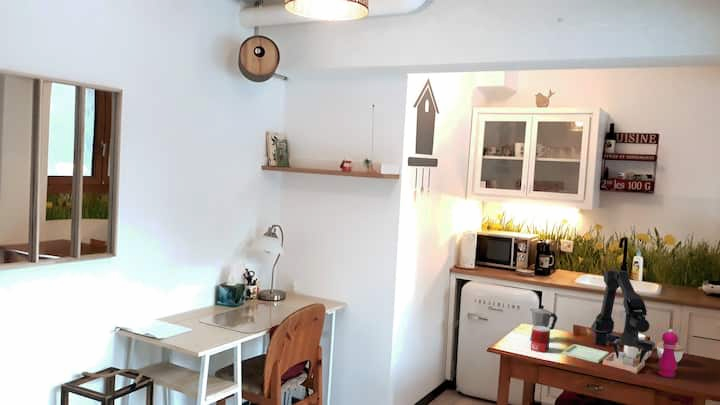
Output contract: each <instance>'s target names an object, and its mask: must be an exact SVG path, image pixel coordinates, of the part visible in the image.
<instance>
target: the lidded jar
mask: <svg viewBox="0 0 720 405" xmlns="http://www.w3.org/2000/svg"><path fill="white" fill-rule="evenodd" d="M663 343H664V341H659V342H657V345H656V346H657V350H656V351H657V356H658V358H659V359H660V357H661V356H662V354H663V351H664V347H663ZM675 345H676V348H675V350H674V355H675V359H676V362H677V363H678V362H680V361H681V359H682V357H683V353H684V350H685V349H684V346H682V345H681V344H678V343H676V344H675Z"/></svg>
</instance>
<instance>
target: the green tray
mask: <svg viewBox="0 0 720 405" xmlns="http://www.w3.org/2000/svg"><path fill="white" fill-rule="evenodd" d="M561 354H562V355H564V356H569V357H572V358H577V359H580V360H583V361H588V362H592V363H596V364H599V363H600V362H601V361H603V360H604V359H605V358H606V357H607V356H609V355H610V353H609V351H605V350H600V349H596V348H593V347H590V346H589V347H588V346H586V345H585V346H584V345H580V344H572V345H570V346H569V347H567V348H566V349H564V350H563V351H562V353H561Z"/></svg>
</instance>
